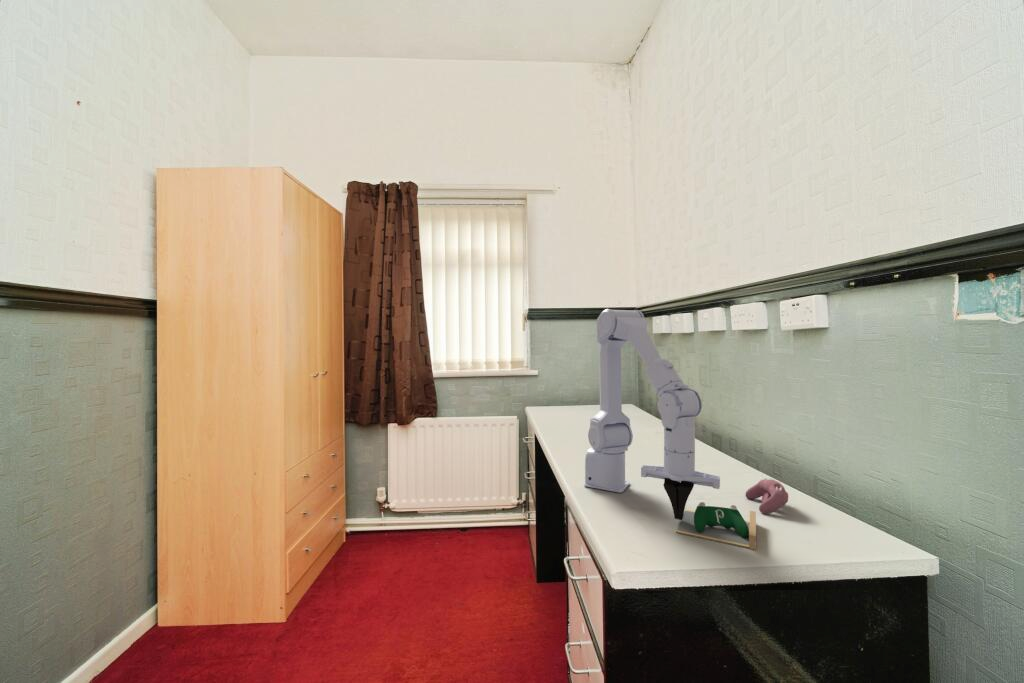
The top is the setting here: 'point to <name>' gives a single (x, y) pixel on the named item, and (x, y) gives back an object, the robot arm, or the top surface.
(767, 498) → the video game controller
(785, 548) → the top surface
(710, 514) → the gaming controller
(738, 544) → the tray
